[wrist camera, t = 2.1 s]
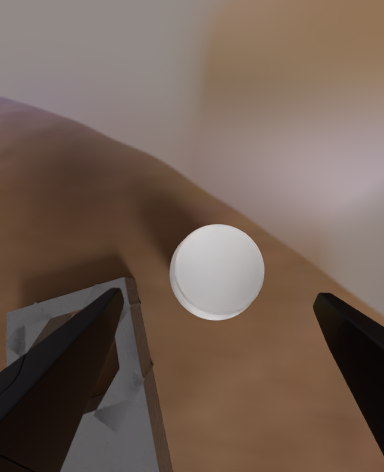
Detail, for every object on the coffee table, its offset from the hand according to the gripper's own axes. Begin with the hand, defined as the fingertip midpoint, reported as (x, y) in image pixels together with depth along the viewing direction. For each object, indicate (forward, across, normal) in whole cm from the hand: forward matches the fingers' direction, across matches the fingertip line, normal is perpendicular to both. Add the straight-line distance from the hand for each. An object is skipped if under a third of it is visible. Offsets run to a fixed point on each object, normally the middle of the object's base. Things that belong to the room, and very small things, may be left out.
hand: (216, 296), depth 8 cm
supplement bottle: (+7, 0, +6) cm, 9 cm away
